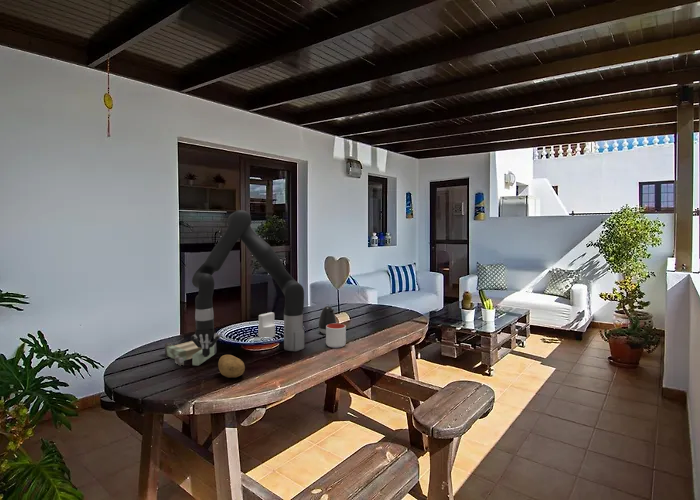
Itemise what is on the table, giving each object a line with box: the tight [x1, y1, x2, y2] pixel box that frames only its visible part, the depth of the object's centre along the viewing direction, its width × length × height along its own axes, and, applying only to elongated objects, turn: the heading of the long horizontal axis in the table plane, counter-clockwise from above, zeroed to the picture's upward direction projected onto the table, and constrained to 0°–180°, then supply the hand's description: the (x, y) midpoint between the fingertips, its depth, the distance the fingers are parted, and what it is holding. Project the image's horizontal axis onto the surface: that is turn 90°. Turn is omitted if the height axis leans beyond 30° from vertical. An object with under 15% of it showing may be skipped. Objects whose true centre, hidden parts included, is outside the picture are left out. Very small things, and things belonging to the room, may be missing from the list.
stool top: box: [164, 340, 202, 367], centre depth 186 cm, size 20×17×5 cm
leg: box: [191, 341, 217, 366], centre depth 182 cm, size 17×3×5 cm, turn 171°
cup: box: [325, 322, 347, 349], centre depth 203 cm, size 10×10×10 cm
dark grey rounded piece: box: [318, 305, 337, 335], centre depth 223 cm, size 10×10×15 cm
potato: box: [217, 354, 246, 379], centre depth 163 cm, size 10×14×8 cm
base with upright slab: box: [257, 311, 276, 338], centre depth 218 cm, size 9×9×12 cm
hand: (206, 356), depth 177 cm, fingers closed
